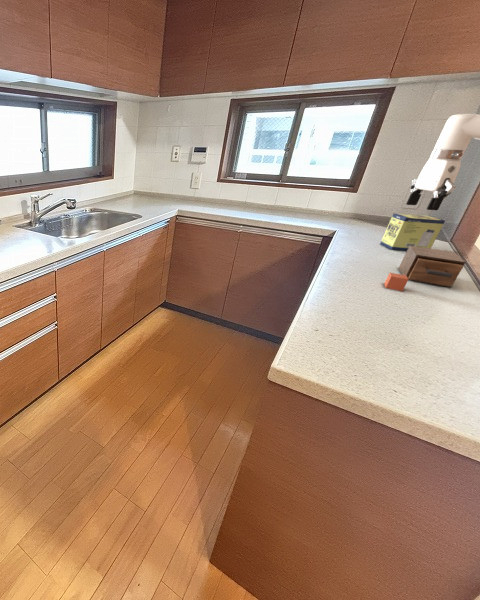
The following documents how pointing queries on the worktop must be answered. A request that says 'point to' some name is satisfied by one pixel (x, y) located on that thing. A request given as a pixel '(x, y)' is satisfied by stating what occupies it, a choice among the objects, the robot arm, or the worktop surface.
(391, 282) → the block
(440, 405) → the worktop surface
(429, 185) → the robot arm
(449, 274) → the drawer
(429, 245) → the protein box
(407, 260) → the cabinet
